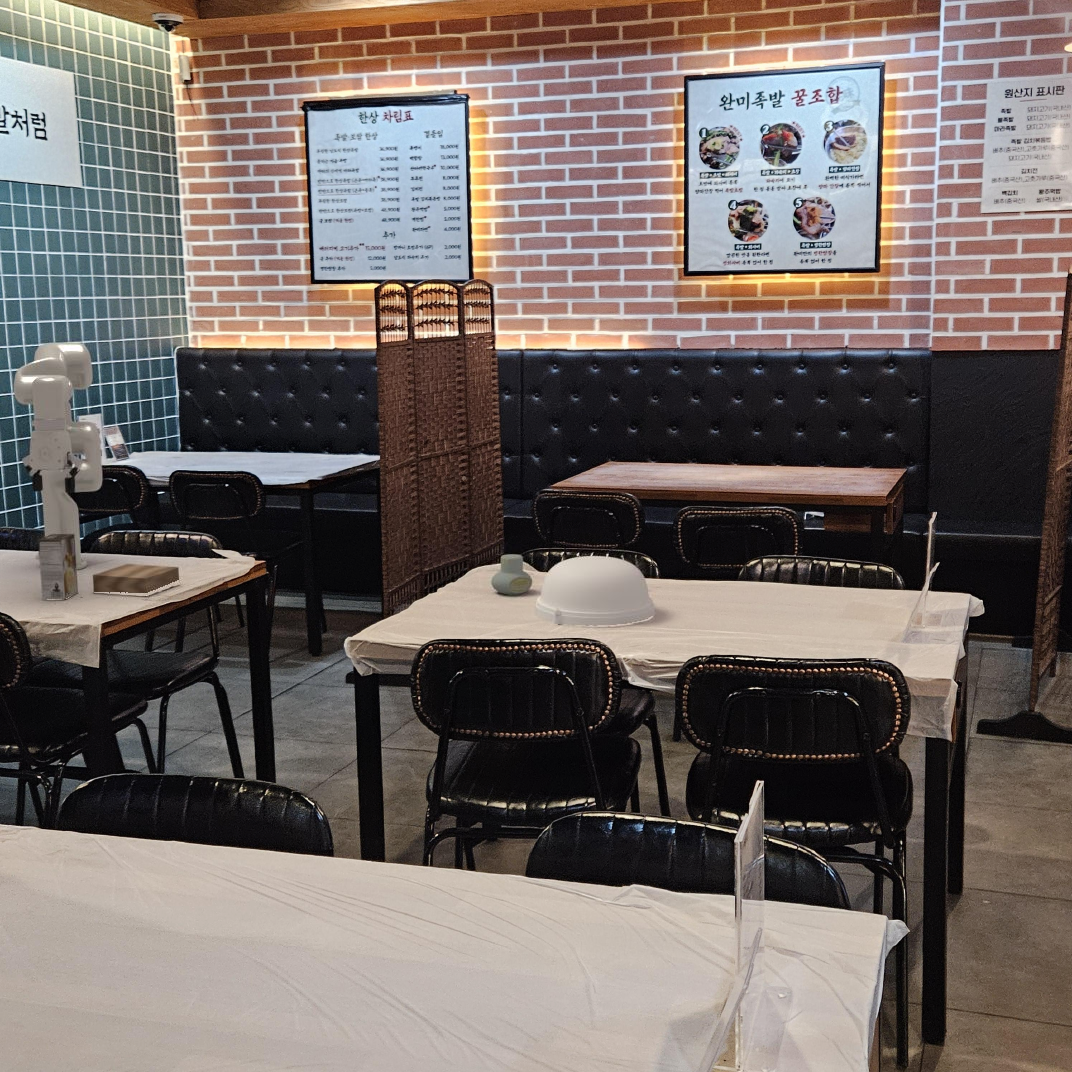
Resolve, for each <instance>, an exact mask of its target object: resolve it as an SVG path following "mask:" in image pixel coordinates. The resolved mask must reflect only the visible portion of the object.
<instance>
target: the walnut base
mask: <svg viewBox="0 0 1072 1072" xmlns="http://www.w3.org/2000/svg"><path fill="white" fill-rule="evenodd" d="M179 569H180V568H179V566H166V565H148V564H133V563H126V564H123V565H120V566H119V565H118V566H117V567H114V568H111V569H107V570H104V571H101V572H98V573H95V574H92V584H93V585H92V586H93V593H94V592H109V593H110V592H120V593H121V592H125V593H126V592H128V593H148V592H150V591H153V590H156V589H158V588H160V587H163V586H165V585H168V584H170V583H172V582H175V581H177V580H179V581H180V573H179V572H180V570H179Z"/></svg>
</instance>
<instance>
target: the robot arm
mask: <svg viewBox="0 0 1072 1072" xmlns="http://www.w3.org/2000/svg"><path fill="white" fill-rule="evenodd" d="M33 359H34V361H32V362H29V363H27V364H25V365H24V364H23V365H22V366H21V367H19V368H18V369H17V370H16V372H15V375H14V381H13V393H14V397H15V399H16V401H17V402H18V403H19V404H22V405H33V418H34V419H33V420H31V423H30V425H31V426H32V427H34V430H32V432H31V436H30V444H29V454H28V455H26V456H25V457H23V458H21V461H22V463H23V465H24V467H25V470H26V471H27V472H28V473H29V474H28V475H29V476H30V477H31V482H32V483H31V484H32V491H33V492H34V493H35V492H40V493H41V500H42V509H43V510H42V511H43V526H44V527H43V528H44V537H46V536H49V535H51V534H75V535H74V538H75V553H76V569H77V570H81V569H84V568H86V567H87V565H88V563H87V561H85V560H82V553H81V538H80V536H81V535H80V534H81V532H80V520H79V519H80V518H79V507H78V505H77V503H76V502H75V501H74V499H73V498H72V497H71V496H70V495H69V494H70V493H81V492H83V493H84V492H96V491H98V490H100V489H101V487H102V485H103V466H102V465H103V464H102V449H101V447H102V446H101V437H100V432H99V428H98V426H97V424H95V423H94V422H90V421H73V419H72V407H71V403H70V402H69V401H70V400H71V398H72V397H73V395H74V390H86V389H88V388H90V387H91V385H92V383H93V378H94V377H93V364H92V358H91V354H90V351H89V349H88V347H87V346H86V345H85V344H83V343H82V342H48V343H47V342H46V343H43V344H41V345H40V346H38V347H37V349H36V350H35V353H34V358H33ZM75 455H82V456H83V457H84V458H79V457H77V456H75ZM35 559H36V560H37V561H40V558H39V552H37V554H36V556H35Z"/></svg>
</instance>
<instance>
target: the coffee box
mask: <svg viewBox="0 0 1072 1072" xmlns="http://www.w3.org/2000/svg"><path fill="white" fill-rule="evenodd" d="M74 535H75V534H51V535H49V536H46V537H45V536H44V537H42V538H39V539H38V541H37V543H38V553H39V558H40V560H39V569H40V586H41V598H42V599H41V600H42V601H48V600H47V599H66V598H68V597H70V596H72V595H73V596H75V595H77V594H78V593H79V587H78V586H79V585H78V584H79V583H78V569H76V553H75V538H74ZM76 593H77V594H76ZM74 594H75V595H74ZM73 596H72V597H73ZM70 598H71V597H70ZM68 599H69V598H68Z"/></svg>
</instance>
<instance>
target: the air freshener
mask: <svg viewBox="0 0 1072 1072" xmlns="http://www.w3.org/2000/svg"><path fill="white" fill-rule="evenodd" d="M490 583H491V586H492V588H493V589H494V591H497V592H498V593H499V594H502V595H509V596H519V595H523V594H524V593H526V592H528V591H529V590H530V589H531V588H532V585H533V579H532V577H531V575H530V574H529V573H527V572H526V571H524V557H523V556H522V554H515V553H514V554H511V553H510V554H504V555H501V557H500V571H497V572H495V574H494V575H493V576H492V578H491V582H490Z"/></svg>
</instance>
